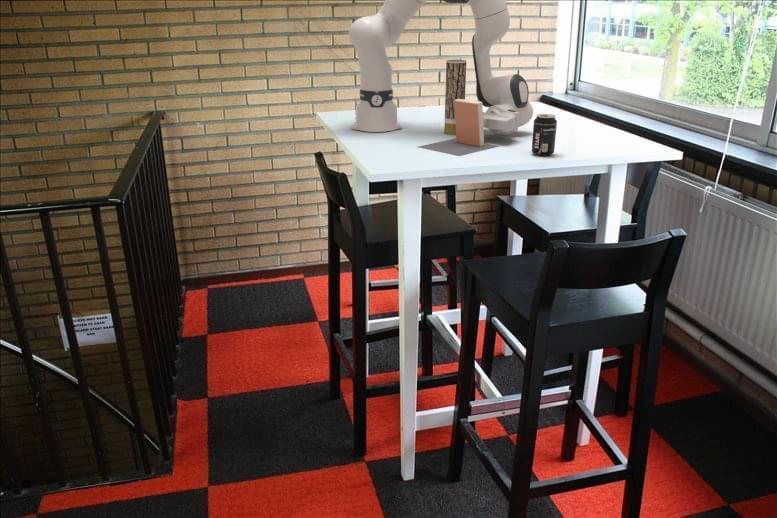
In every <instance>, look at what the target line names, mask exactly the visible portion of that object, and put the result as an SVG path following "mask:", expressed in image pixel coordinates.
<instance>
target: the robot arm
mask: <svg viewBox="0 0 777 518" xmlns="http://www.w3.org/2000/svg"><path fill="white" fill-rule="evenodd" d="M441 1H443V2H445V3H448V4H469V6H470V9H471V11H472V16H473V20H474V25H475V31H474V34H473V35H472V39H471V47H472V48H471V49H472V57H473V58H472V59H473V67H474V73H475V82H476V83H475V84H476V85H475V87H476V88H475V91H476V94H475V95H476V99H477V100H478V101H479V102H482V107H483V106H484V107H486V108H487V109H486V110H485V111H486V112H484V111H483V127H484V128H485V129H488V130H489V131H491V132H493V133H498V132H499V133H500V132H511V133H513V132H514V133H515V132H518V130H519V128H520V127H522V126H525V125H527V124H528V123H529V122H530V121H531V120H532V118H533V115H534V107H533V105H532V104H531V103H530V101H529V86H528V83H527V81H526V79H525V78H524V77H523V76H522V75H520V74H519V73H518V74H517V73H516V74H507V75H506V74H505V75H501V76H494V74H493V73H492V65H491V59H490V58H491V57H490V50H491V48H492V46H493V45H495V44H496V43H497V42H498V41H500V40H501V39H502V38H503V37H504V36H505V35H506V34H507V32H508V31H509V29H510V24H511V20H510V19H511V18H510V13H509V8H508V6H507V3H506V0H441ZM427 2H428V0H384V2H383V4H382V6H381V8H380V9H379V10H378V12H377V13H376V14H374V15H368V16H361V17H360V18H358V19H357V20H355V21H353V22H352V23H351V26H350V28H349V30H348V36H349V40H350V42H351V44H352V45H353V46H354V48H355V51H356V55H357V58H358V63H359V70H360V89H359V99H360V100H359V102H358V104H357V105H356V106H355V110H354V111H355V118H354V119H355V122H354V123H352V124H351V126H350V129H351V130H356V131H362V132H370V133H377V132H378V133H382V132H383V133H384V132H391V131H395V130H402V129H403V125H402V124H400V123H399V122H398V106H397V104H396V103H395V102H394V101H393V99H394V89H393V87H392V80H393V79H392V74H393V73H392V72H393V71H392V70H393V69H392V65H391V63H390V61H389V60H388V56H387V51H386V48H390V47H391V46H393V45H394V44H396V43H397V42H398V41H399V40H400V37H401V36H402V35H401V34H402V32H403V31H404V29H405V28H406V26H407V24H408V23H409V21H410V20H411V19H412V18H413V17H414V15H416V13H418V11H419V10H421V8H422V7H423V6H424V5H425V4H426V3H427Z"/></svg>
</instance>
